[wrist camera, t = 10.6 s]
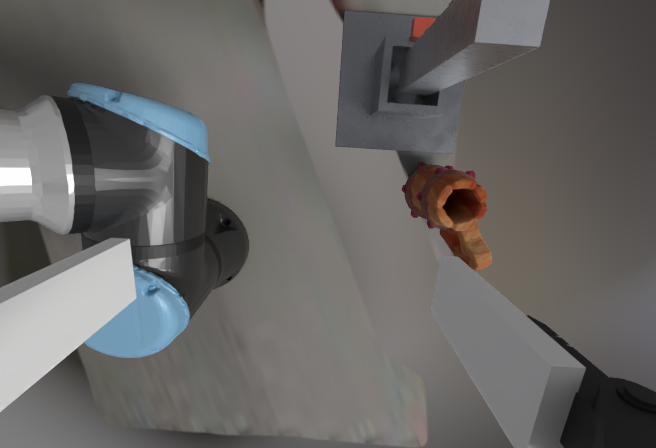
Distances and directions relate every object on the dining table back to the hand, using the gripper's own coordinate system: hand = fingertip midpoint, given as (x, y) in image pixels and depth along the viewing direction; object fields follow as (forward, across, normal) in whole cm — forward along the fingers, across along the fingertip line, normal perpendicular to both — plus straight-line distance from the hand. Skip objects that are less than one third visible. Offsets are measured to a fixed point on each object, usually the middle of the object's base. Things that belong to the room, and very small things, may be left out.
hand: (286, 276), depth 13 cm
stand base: (+37, +12, +14) cm, 41 cm away
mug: (+37, +19, -3) cm, 42 cm away
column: (+28, +12, +14) cm, 34 cm away
